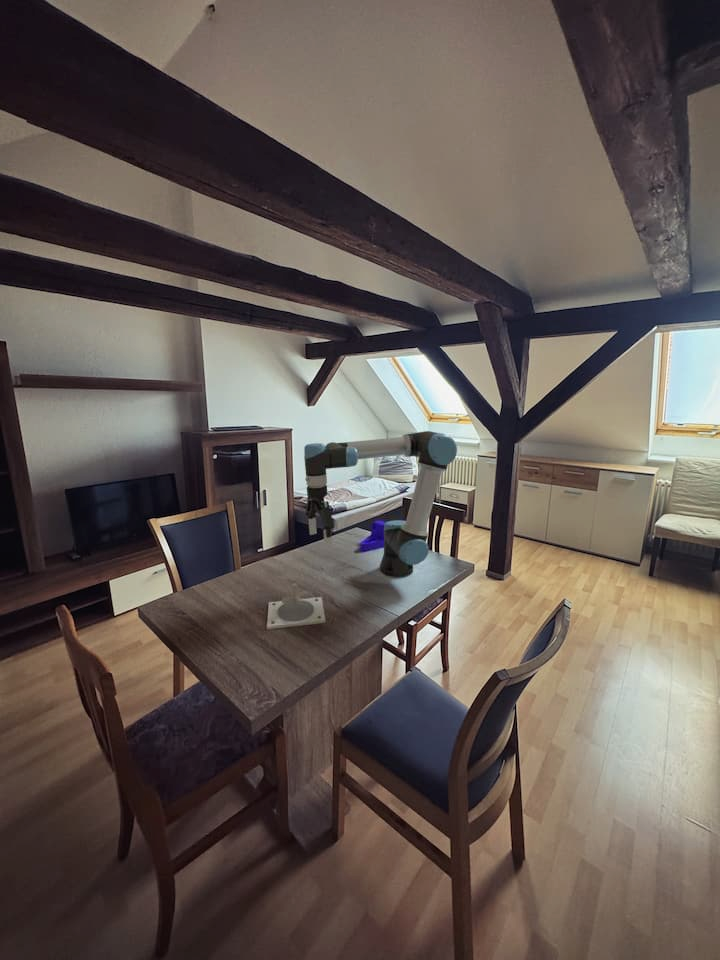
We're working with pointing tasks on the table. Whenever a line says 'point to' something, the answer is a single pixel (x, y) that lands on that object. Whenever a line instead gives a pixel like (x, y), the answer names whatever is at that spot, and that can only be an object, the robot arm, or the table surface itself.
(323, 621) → the duct panel
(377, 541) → the bracket
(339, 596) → the table surface
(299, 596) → the pipe connector
